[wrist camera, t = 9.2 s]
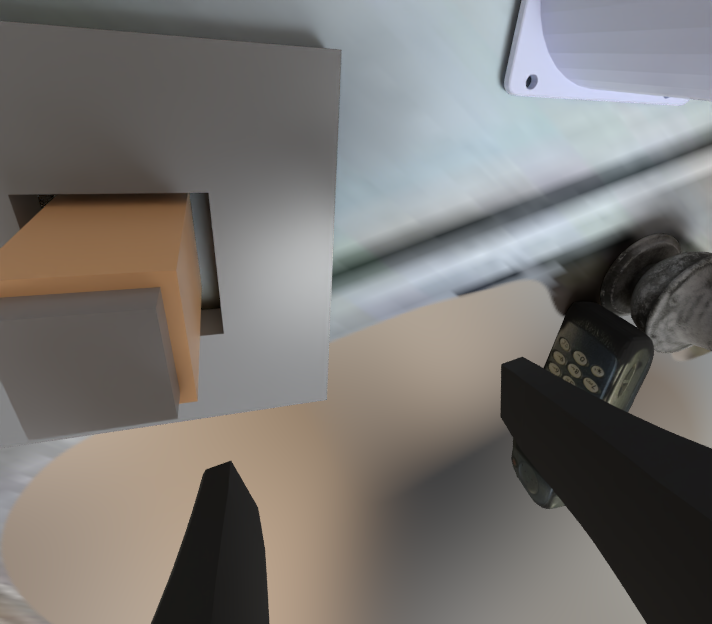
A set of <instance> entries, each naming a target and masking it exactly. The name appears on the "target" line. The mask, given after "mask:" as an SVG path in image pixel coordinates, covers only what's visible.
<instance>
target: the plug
mask: <svg viewBox="0 0 712 624" xmlns="http://www.w3.org/2000/svg"><path fill="white" fill-rule="evenodd" d="M201 292H202V285H201V277H200V270H199V262H198V255H197V247H196V239H195V232H194V224H193V217H192V209H191V202H190V194H189V193H126V194H57V195H56V196H55V197H54V198H53V199H52V200H51V201H50V202H49V203H48V204H47V205H46V206H45V207H44V208H43V209H42V210H41V211H39V212H38V213H37V214H36V215H35V216H34V217H33V218H32V219H31V220H30V221H29V222H28V223H27V224H26V225H25V226H24V227H23V228H22V229H21V230H19V231H18V232H17V233H16V234H15V235H14V236H13V237H12V238H11V239H10V240H9V241H8V242H7V243H6V244H5V245H4V246H3V247H2V248H0V380H1V383H2V385H3V387H4V389H5V391H6V393H7V396H8V398H9V400H10V402H11V404H12V406H13V408H14V411H15V413H16V415H17V417H18V419H19V421H20V424H21V426H22V428H23V430H24V432H25V434H26V436H27V439H28V441H29V440H36V439H43V438H50V437H56V436H63V435H70V434H77V433H84V432H90V431H97V430H104V429H111V428H118V427H125V426H131V425H138V424H145V423H152V422H159V421H165V420H172V419H178V411H179V404H182V403H189V402H196V401H198V377H199V349H200V321H201Z"/></svg>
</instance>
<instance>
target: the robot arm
mask: <svg viewBox="0 0 712 624" xmlns="http://www.w3.org/2000/svg"><path fill="white" fill-rule="evenodd" d="M529 76H531V84H530V86H529V87H528V88H527V87H526V80H527V78H528V77H529ZM504 87H505V90H506V92H507V93H508V94H511V95H515V96H530V97H546V98H563V99H579V100H595V101H612V102H628V103H644V104H661V105H677V106H680V105H684V104H685V103H687V102H688V101H689V100H690V99H693V100H703V101H712V0H521V5H520V10H519V14H518V19H517V24H516V28H515V33H514V38H513V42H512V47H511V52H510V56H509V61H508V65H507V70H506V75H505V79H504ZM501 418H502V420H503V421H504V423H505V425H506V426H507V428H508V430H509V431H510V433H511V435H512V436H513V438H514V439H515V441H516V443H517V444H518V446H519V447H520V449H521V450H522V452H523V453H524V454H525V455H526V457H527V458H528V459H529V461H530V462H531V463H532V464H533V466H534V467H535V468H536V469H537V471H538V472H539V473H540V475H541V476H542V477H543V478H544V480H545V481H546V482H547V483H548V484H549V486H550V487H551V488H552V489H553V491H554V492H555V493H556V494H557V496H558V497H559V498H560V499H561V501H562V502H563V503H564V504H565V506H566V507H567V508H568V509H569V511H570V512H571V513H572V514H573V515H574V517H575V518H576V519H577V521H578V522H579V523H580V524H581V526H582V527H583V528H584V530H585V531H586V532H587V534H588V535H589V536H590V538H591V539H592V540H593V542H594V543H595V545H596V546H597V548H598V549H599V551H600V552H601V554H602V555H603V557H604V558H605V560H606V561H607V563H608V564H609V566H610V567H611V569H612V570H613V572H614V573H615V575H616V576H617V578H618V579H619V581H620V582H621V584H622V586H623V587H624V588H625V590H626V592H627V593H628V595H629V596H630V598H631V600H632V601H633V603H634V604H635V606H636V607H637V609H638V610H639V612H640V614H641V615H642V617H643V618H644V620H645V621H646V623H647V624H712V449H711V448H709V447H706V446H704V445H701V444H699V443H696V442H694V441H691V440H688V439H686V438H684V437H681V436H679V435H676V434H674V433H672V432H669V431H667V430H665V429H662V428H660V427H658V426H656V425H653V424H651V423H649V422H647V421H644V420H643V419H641V418H638V417H636V416H634V415H632V414H630V413H628V412H626V411H624V410H622V409H619V408H617V407H615V406H613V405H611V404H609V403H607V402H605V401H603V400H602V399H600V398H598V397H596V396H594V395H592V394H590V393H588V392H586V391H584V390H582V389H580V388H579V387H577V386H575V385H573V384H571V383H569V382H568V381H566V380H564V379H562V378H560V377H558V376H557V375H555V374H553V373H551V372H549V371H547V370H546V369H544V368H542V367H540V366H538V365H537V364H535V363H533V362H531V361H529V360H527V359H526V358H524V357H521V358H517V359H515V360H512V361H509V362H506V363H503V364H502V365H501ZM151 624H269V609H268V591H267V573H266V558H265V547H264V540H263V534H262V528H261V522H260V516H259V511H258V507H257V505H256V503H255V501H254V500H253V498H252V496H251V495H250V493H249V491H248V489H247V488H246V486H245V484H244V482H243V481H242V479H241V477H240V475H239V474H238V472H237V470H236V468H235V467H234V465H233V463H232V461H229V462H226V463H224V464H220V465H218V466H215V467H212V468H209V469H207V470H205V472H204V474H203V477H202V480H201V484H200V488H199V491H198V494H197V497H196V501H195V504H194V507H193V511H192V514H191V517H190V520H189V523H188V527H187V529H186V532H185V535H184V538H183V541H182V544H181V547H180V550H179V552H178V555H177V558H176V561H175V564H174V567H173V569H172V572H171V575H170V577H169V580H168V583H167V585H166V588H165V590H164V593H163V595H162V598H161V600H160V603H159V605H158V608H157V610H156V613H155V615H154V618H153V620H152V622H151Z"/></svg>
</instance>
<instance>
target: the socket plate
mask: <svg viewBox="0 0 712 624" xmlns="http://www.w3.org/2000/svg"><path fill="white" fill-rule="evenodd" d="M340 71H341V50H338V49H326V48H315V47H303V46H291V45H279V44H268V43H256V42H244V41H232V40H220V39H209V38H197V37H185V36H173V35H162V34H150V33H138V32H126V31H114V30H103V29H91V28H79V27H67V26H56V25H44V24H32V23H20V22H8V21H0V248H2V247H3V246H4V245H5V244H6V243H7V242H8V241H9V240H10V239H11V238H12V237H13V236H14V235H15V234H16V233H17V232H18V231H19V230H21V229H22V228H23V227H24V226H25V225H26V224H27V223H28V222H29V221H30V220H31V219H32V218H33V217H34V216H35V215H36V214H37V213H38V212H39V211H41V210H42V209H41V205H40V202H39V199H38V196H37V194H126V193H208V194H209V203H210V212H211V221H212V230H213V239H214V248H215V257H216V266H217V275H218V284H219V293H220V303H221V308H219V309H207V310H201V321H200V349H199V377H198V401H196V402H189V403H182V404H179V411H178V419H172V420H165V421H159V422H152V423H145V424H138V425H131V426H125V427H118V428H111V429H104V430H97V431H90V432H84V433H77V434H70V435H63V436H56V437H50V438H43V439H36V440H29V441H28V439H27V436H26V434H25V432H24V430H23V428H22V426H21V424H20V421H19V419H18V417H17V415H16V413H15V411H14V408H13V406H12V404H11V402H10V400H9V398H8V396H7V393H6V391H5V389H4V387H3V385H2V383H1V380H0V448H6V447H13V446H20V445H27V444H33V443H40V442H47V441H53V440H60V439H67V438H74V437H80V436H87V435H94V434H100V433H107V432H114V431H120V430H127V429H134V428H140V427H147V426H153V425H161V424H167V423H174V422H181V421H188V420H194V419H201V418H208V417H215V416H221V415H228V414H235V413H241V412H247V411H255V410H261V409H268V408H275V407H281V406H288V405H295V404H302V403H309V402H315V401H322V400H327V379H328V357H329V333H330V309H331V285H332V262H333V238H334V214H335V190H336V166H337V142H338V118H339V94H340Z"/></svg>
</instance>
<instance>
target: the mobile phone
mask: <svg viewBox="0 0 712 624" xmlns="http://www.w3.org/2000/svg"><path fill="white" fill-rule="evenodd" d="M653 356H654V345H653V341H652V339H651V338H650V337H649V336H648V335H646V334H645V333H644V332H642V331H641V330H640V329H638V328H637V327H635V326H634V325H632V324H630V323H629V322H627V321H626V320H624V319H622V318H621V317H619V316H618V315H616V314H615V313H613V312H611V311H610V310H608V309H606V308H605V307H603V306H601V305H599V304H597V303H593V302H586V301H581V302H575V303H573V304H572V306H571V307H570V308H569V310H568V311H567V313H566V315H565V318H564V320H563V323H562V325H561V328H560V330H559V332H558V335H557V337H556V339H555V342H554V344H553V347H552V349H551V351H550V354H549V356H548V359H547V361H546V363H545V366H544V369H546V370H547V371H549V372H551V373H553V374H555V375H557V376H558V377H560V378H562V379H564V380H566V381H568V382H569V383H571V384H573V385H575V386H577V387H579V388H580V389H582V390H584V391H586V392H588V393H590V394H592V395H594V396H596V397H598V398H600V399H602V400H603V401H605V402H607V403H609V404H611V405H613V406H615V407H617V408H619V409H622V410H624V411H626V412H628V411H629V409H630V408H631V406H632V404H633V402H634V399H635V397H636V395H637V393H638V391H639V389H640V387H641V385H642V383H643V381H644V379H645V377H646V375H647V373H648V371H649V368H650V366H651V363H652V360H653ZM512 464H513V467H514V470H515V472H516V475H517V477H518V478H519V480H520V481H521V483H522V485H523V486H524V488H525V489H526V491H527V492H528V494H529V495H530V497H531V498H532V499H533V501H534V502H535V503H536V504H538V505H539V506H541V507H542V508H546V509H553V508H558V507H562V506H565V504H564V503H563V502H562V501H561V499H560V498H559V497H558V496H557V494H556V493H555V492H554V491H553V489H552V488H551V487H550V486H549V484H548V483H547V482H546V481H545V480H544V478H543V477H542V476H541V475H540V473H539V472H538V471H537V469H536V468H535V467H534V466H533V464H532V463H531V462H530V461H529V459H528V458H527V457H526V455H525V454H524V453H523V452H522V450H521V449H520V447H519V446H518V444H517V443H516V441H515V439H514V438H513V451H512Z"/></svg>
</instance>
